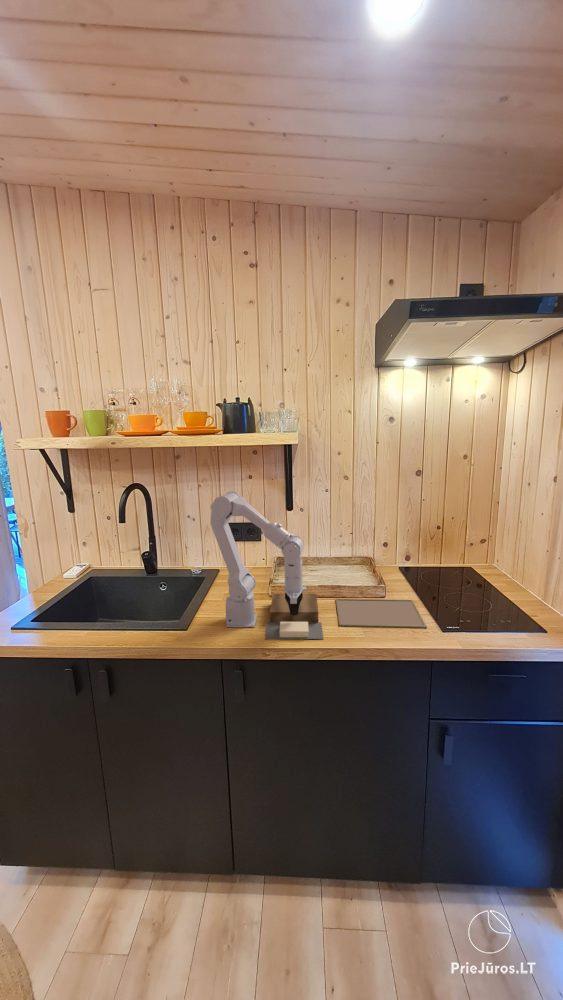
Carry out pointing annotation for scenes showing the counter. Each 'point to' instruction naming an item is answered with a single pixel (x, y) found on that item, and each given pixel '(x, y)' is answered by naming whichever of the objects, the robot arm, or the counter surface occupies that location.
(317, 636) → the mat
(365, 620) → the taupe placemat
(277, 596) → the brown wooden flat block
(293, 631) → the beige rectangular block
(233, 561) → the robot arm
